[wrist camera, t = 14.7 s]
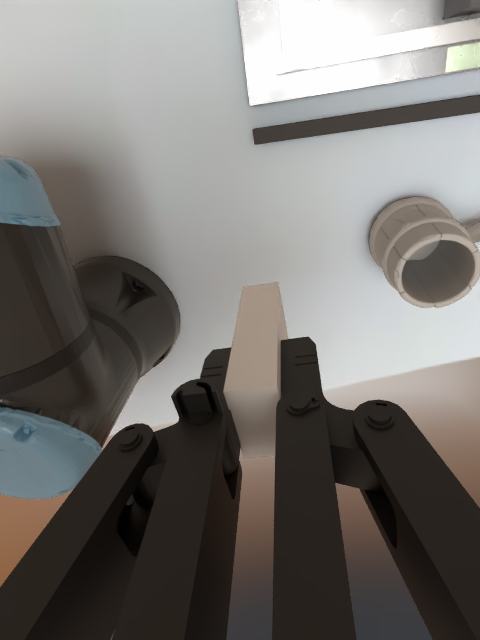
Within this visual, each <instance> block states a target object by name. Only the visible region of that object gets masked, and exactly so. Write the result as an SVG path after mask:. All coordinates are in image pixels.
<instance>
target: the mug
mask: <svg viewBox="0 0 480 640" xmlns="http://www.w3.org/2000/svg"><path fill="white" fill-rule="evenodd" d="M479 241H480V221H479V222H478V223H477V224H475V225H473V226H470V227H468V228H464V227H463V226H462V225H461V224H459V223H458V222H457V221H456V220H455V219H454V218H453V217H452V215H451V213H450V212H449V211H448V209H447V208H446V207H445V206H443V205H442V204H441V203H440V202H439V201H437V200H433V199H430V198H425V197H412V198H407V199H401V200H398V201H396V202H394V203H392V204H390V205H389V206H387V207H386V208H385V209H384V210H383V211H382V212H381V213H380V214H379V215H378V217H377V220H375V221H374V223H373V226H372V229H371V233H370V238H369V246H370V251H371V254H372V256H373V258H374V260H375V262H376V263H377V264H378V265H379V266H380V267H381V268H382V269H383V272H384V275H385V277H386V279H387V280H388V282H389V283H390V284H391V286H393V287H394V288H395V289H396V290H397V291H398V292H399V294H400V295H401V297H402V298H403V299H404V300H406V301H407V302H409V303H410V304H412V305H415V306H418V307H422V308H430V307H433V306H434V307H436V308H439V307H443V306H447V305H450V304H452V303H454V302H456V301H458V300H460V299H461V298H463V297H464V296H465V295H467V294H468V293H469V291H470V290H471V289H472V288H471V286H474V285H475V284H476V282H477V281H478V279H479V277H480V252H479V251H478V248H477V246H476V245H475V244H474V243H476V242H479ZM426 244H427V245H426ZM407 260H408V261H407Z"/></svg>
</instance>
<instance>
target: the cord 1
mask: <svg viewBox="0 0 480 640" xmlns="http://www.w3.org/2000/svg"><path fill="white" fill-rule="evenodd" d="M478 112H480V95H474V96H467V97H461V98H454V99H448V100H441V101H434V102H428V103H421V104H415V105H408V106H401V107H395V108H388V109H382V110H375V111H368V112H362V113H355V114H349V115H342V116H335V117H329V118H322V119H316V120H309V121H302V122H296V123H289V124H283V125H276V126H269V127H263V128H256V129H253V136H254V145H256V144H263V143H270V142H277V141H284V140H290V139H297V138H304V137H311V136H318V135H325V134H332V133H339V132H346V131H353V130H360V129H367V128H374V127H381V126H388V125H395V124H402V123H409V122H416V121H423V120H430V119H436V118H443V117H450V116H457V115H464V114H471V113H478Z"/></svg>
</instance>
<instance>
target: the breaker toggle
mask: <svg viewBox="0 0 480 640" xmlns="http://www.w3.org/2000/svg"><path fill="white" fill-rule="evenodd" d="M476 13H480V0H446V1H445V11H444V19H449V18H455V17H460V16H466V15H471V14H476Z"/></svg>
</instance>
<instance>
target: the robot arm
mask: <svg viewBox="0 0 480 640" xmlns="http://www.w3.org/2000/svg"><path fill="white" fill-rule="evenodd" d="M60 225H61V222H60V219H59V218H58V217H57V216H56V215H55V213H54V211H53V208H52V206H51V203H50V201H49V199H48V196H47V194H46V191H45V189H44V187H43V184H42V182H41V179H40V177H39V176H38V174H37V173H36V171H35V170H34V169H33V168H32V167H31V166H29V165H28V164H27V163H25V162H24V161H22V160H19V159H17V158H14V157H9V156H0V494H3V495H7V496H12V497H17V498H25V499H46V498H53V497H57V496H60V495H63V494H65V493H67V492H69V491H71V490H72V489H73V488H74V487H75V486H76V487H75V488H74V489H73V491H72V492H71V493H70V495H69V496H68V498H67V499H66V500H65V502H64V503H63V504H62V506H61V507H60V508H59V510H58V511H57V512H56V514H55V515H54V516H53V518H52V519H51V520H50V522H49V523H48V524H47V526H46V527H45V528H44V530H43V531H42V532H41V534H40V535H39V536H38V538H37V539H36V540H35V542H34V543H33V544H32V546H31V547H30V548H29V550H28V551H27V552H26V554H25V555H24V556H23V558H22V559H21V560H20V562H19V563H18V564H17V566H16V567H15V568H14V570H13V571H12V572H11V574H10V575H9V576H8V578H7V579H6V580H5V582H4V583H3V585H2V586H1V587H0V640H110V639H111V636H112V634H113V633H114V635H113V639H112V640H226V638H227V628H228V617H229V607H230V606H229V605H230V595H231V586H232V575H233V565H234V554H235V544H236V533H237V522H238V512H239V502H240V491H241V480H242V468H241V465H240V461H239V455H240V448H241V451H242V454H243V457H244V458H251V457H252V458H253V457H266V456H275V502H274V503H275V505H274V564H273V565H274V566H273V567H274V568H273V627H272V640H357V639H356V632H355V625H354V619H353V618H354V617H353V611H352V603H351V596H350V588H349V581H348V574H347V566H346V559H345V552H344V544H343V537H342V530H341V522H340V516H339V508H338V501H337V494H336V487H335V483H339V484H343V485H347V486H352V487H356V488H359V489H360V491H361V493H362V496H363V497H364V500H365V502H366V504H367V505H368V508H369V510H370V511H371V514H372V516H373V518H374V520H375V522H376V524H377V526H378V528H379V530H380V532H381V534H382V537H383V538H384V541H385V543H386V545H387V547H388V549H389V551H390V553H391V555H392V557H393V559H394V561H395V563H396V565H397V567H398V569H399V571H400V574H401V576H402V578H403V580H404V582H405V584H406V586H407V588H408V590H409V592H410V594H411V596H412V598H413V600H414V602H415V604H416V606H417V608H418V611H419V612H420V615H421V617H422V619H423V621H424V623H425V624H426V627H427V629H428V631H429V633H430V635H431V637H432V639H433V640H480V508H479V507H478V506H477V504H476V503H475V502H474V500H473V499H472V498H471V496H470V495H469V494H468V492H467V491H466V490H465V489H464V487H463V486H462V485H461V484H460V482H459V481H458V479H457V478H456V477H455V476H454V474H453V473H452V472H451V470H450V469H449V468H448V467H447V465H446V464H445V463H444V461H443V460H442V459H441V457H440V456H439V455H438V454H437V452H436V451H435V450H434V448H433V447H432V446H431V444H430V443H429V442H428V441H427V439H426V438H425V437H424V435H423V434H422V433H421V431H420V430H419V429H418V428H417V426H416V425H415V424H414V422H413V421H412V420H411V418H410V417H409V416H408V415H407V413H406V412H405V411H404V410H403V409H402V408H401V407H400V406H398V405H397V404H394V403H392V402H390V401H384V400H371V401H367V402H365V403H363V404H360V405H359V406H358V407H357V408H356V409H355V410H354V411H353V410H346V409H342V408H338V407H336V406H334V405H332V404H331V403H329V402H328V401H327V400H326V399H325V397H324V395H323V392H322V386H321V379H320V372H319V365H318V358H317V351H316V344H315V343H314V342H313V341H312V340H311V339H310V338H309V337H302V338H294V339H288V334H287V329H286V323H285V318H284V312H283V307H282V301H281V296H280V290H279V285H278V282H275V283H269V284H262V285H256V286H250V287H243V290H242V295H241V300H240V306H239V311H238V316H237V322H236V327H235V332H234V338H233V343H232V348H224V349H216V350H212V351H211V353H210V354H209V355H208V356H207V357H206V359H205V361H204V365H203V368H202V369H203V370H202V372H201V376H200V377H201V378H200V379H195V380H191V381H188V382H186V383H184V384H182V385H181V386H179V387H178V388H177V389H176V390H175V391H174V393H173V394H172V396H171V398H172V400H173V403H174V405H175V408H176V410H177V413H178V415H179V421H178V423H176V424H174V425H172V426H169V427H167V428H164V429H161V430H158V431H155V432H153V430H152V429H151V428H150V426H149V425H146V424H143V423H142V424H133V425H130V426H127V427H125V428H123V429H122V430H120V431H119V432H118V433H117V434H116V435H115V436H114V437H113V438H112V439H111V440H110V441H109V443H108V444H107V446H106V447H105V448H104V449H103V451H102V450H101V449H102V447H103V445H104V443H105V441H106V439H107V437H108V435H109V434H110V432H111V430H112V428H113V426H114V424H115V422H116V420H117V419H118V417H119V415H120V413H121V411H122V409H123V407H124V406H125V404H126V402H127V400H128V398H129V396H130V394H131V393H132V391H133V389H134V387H135V385H136V383H137V381H138V380H139V378H141V377H142V376H143V375H145V374H146V373H147V372H149V371H150V370H151V369H152V368H153V367H155V366H156V365H158V364H159V363H160V362H162V361H163V360H164V359H165V358H166V356H167V355H168V354H169V352H170V351H171V349H172V347H173V345H174V343H175V341H176V339H177V337H178V334H179V329H180V315H179V310H178V307H177V304H176V301H175V299H174V297H173V295H172V293H171V292H170V290H169V289H168V288H167V286H166V285H165V284H164V283H163V282H162V281H161V280H160V279H159V278H158V277H157V276H156V275H155V274H154V273H152V272H151V271H150V270H148V269H147V268H145V267H143V266H142V265H140V264H138V263H135V262H133V261H130V260H127V259H124V258H120V257H113V256H100V257H94V258H90V259H87V260H85V261H82V262H81V263H79V264H77V265H76V266H75V267H73V264H72V261H71V258H70V255H69V253H68V250H67V247H66V244H65V241H64V238H63V235H62V232H61V229H60ZM101 451H102V452H101ZM114 631H115V632H114Z"/></svg>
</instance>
